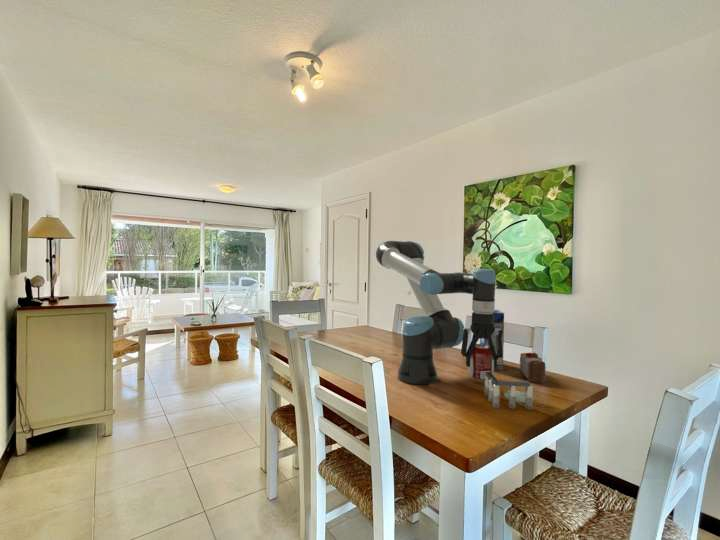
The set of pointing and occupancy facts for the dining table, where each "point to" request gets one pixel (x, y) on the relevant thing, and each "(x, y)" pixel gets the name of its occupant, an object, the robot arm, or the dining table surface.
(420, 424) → the dining table surface
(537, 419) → the dining table surface
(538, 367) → the food item
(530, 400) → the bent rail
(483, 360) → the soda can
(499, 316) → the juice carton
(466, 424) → the dining table surface
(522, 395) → the coaster
